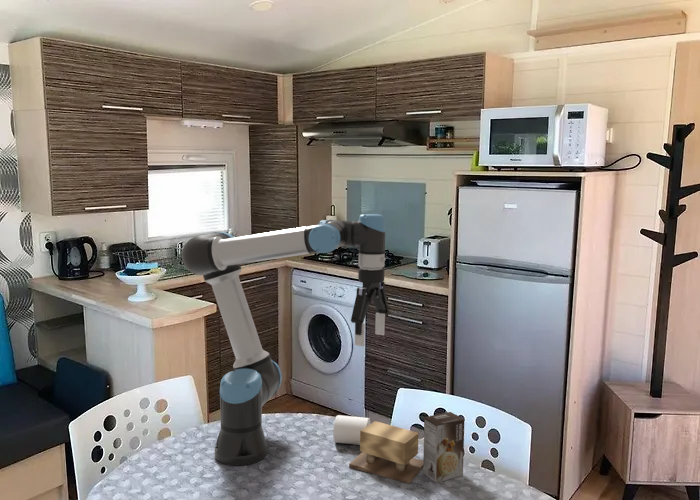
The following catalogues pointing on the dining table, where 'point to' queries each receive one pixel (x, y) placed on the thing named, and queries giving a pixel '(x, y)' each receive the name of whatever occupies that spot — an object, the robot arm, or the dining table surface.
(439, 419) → the coffee box
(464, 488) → the dining table surface
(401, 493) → the dining table surface
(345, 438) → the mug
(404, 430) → the wooden block
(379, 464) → the peg stand
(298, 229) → the robot arm
